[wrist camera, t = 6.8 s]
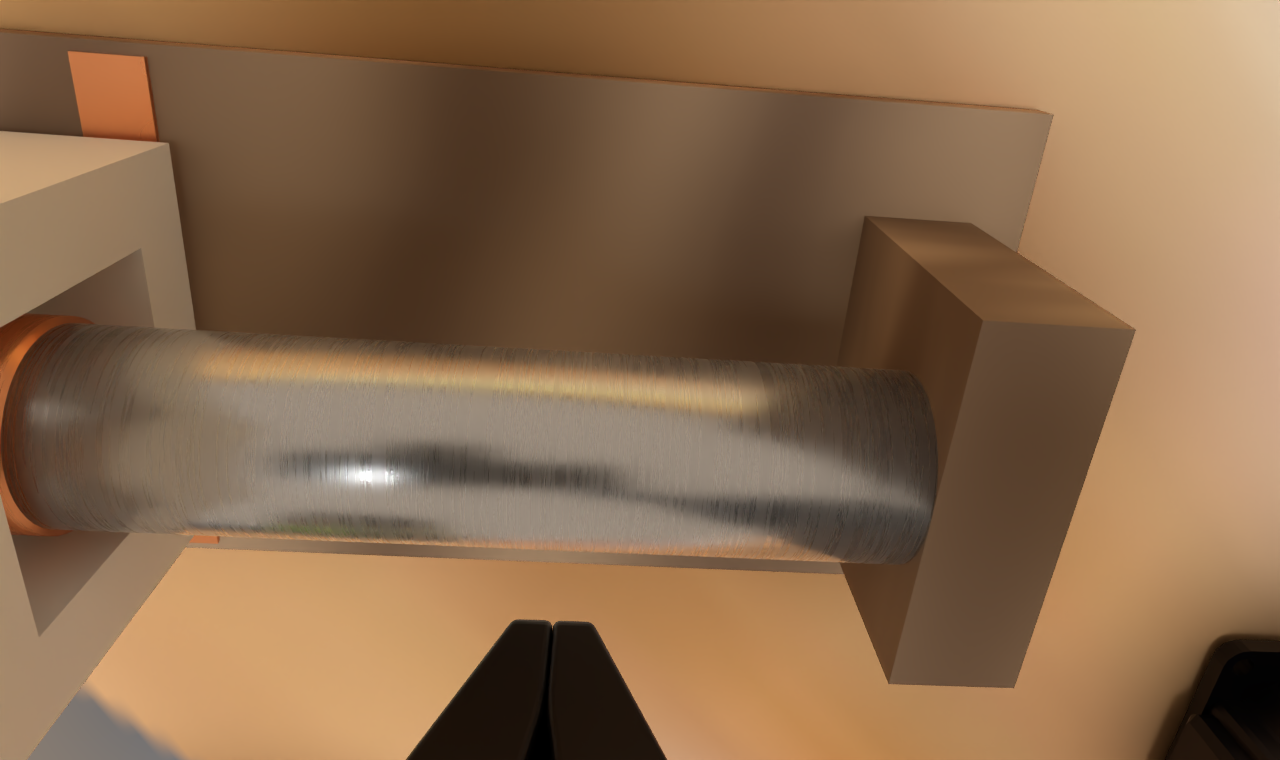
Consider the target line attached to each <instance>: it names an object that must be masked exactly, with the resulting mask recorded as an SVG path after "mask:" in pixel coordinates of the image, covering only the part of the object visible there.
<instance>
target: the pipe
mask: <svg viewBox="0 0 1280 760" xmlns="http://www.w3.org/2000/svg"><path fill="white" fill-rule="evenodd" d="M68 57H69V62H70V68H71V73H72V78H73V84H74V89H75V94H76V100H77V105H78V111H79V116H80V121H81V127H82V132H83V137H93V138H107V139H121V140H135V141H149V142H160V141H159V134H158V127H157V121H156V114H155V108H154V101H153V94H152V88H151V81H150V74H149V68H148V61H147V57H146V56H133V55H120V54H107V53H94V52H81V51H68ZM937 475H938V450H937V437H936V429H935V423H934V418H933V413H932V409H931V406H930V402H929V399H928V397H927V394H926V392H925V390H924V388H923V386H922V384H921V382H920V381H919V380H918V378H917V377H916V376H915V375H914V374H912V373H911V372H909V371H905V370H889V369H872V368H854V367H837V366H819V365H802V364H784V363H767V362H749V361H732V360H714V359H697V358H679V357H662V356H644V355H627V354H609V353H592V352H574V351H557V350H539V349H522V348H504V347H487V346H469V345H452V344H435V343H417V342H400V341H382V340H365V339H347V338H330V337H312V336H295V335H277V334H260V333H242V332H225V331H207V330H190V329H172V328H155V327H137V326H120V325H102V324H95V323H93V322H92V321H90V320H87V319H85V318H83V317H77V316H65V315H48V314H31V313H25V314H23V315H22V316H20V317H18V318H16V319H15V320H13V321H11V322H9V323H7V324H6V325H4V326H2V327H0V495H1V499H2V503H3V507H4V510H5V514H6V518H7V521H8V525H9V529H10V532H11V535H28V536H60V535H64V534H67V533H69V532H72V531H74V530H81V531H104V532H128V533H152V534H176V535H194V536H193V538H192V539H191V540H190V542H189V543H211V544H218V543H219V541H220V539H219V536H224V537H248V538H272V539H296V540H320V541H343V542H367V543H391V544H415V545H439V546H463V547H487V548H511V549H535V550H559V551H583V552H606V553H630V554H654V555H678V556H702V557H726V558H750V559H774V560H798V561H822V562H845V563H869V564H893V565H902V564H906V563H908V562H909V561H911V560H912V559H913V558H914V557H915V556H916V554H917V553H918V552H919V550H920V548H921V546H922V544H923V543H924V540H925V538H926V535H927V533H928V529H929V526H930V523H931V519H932V514H933V510H934V504H935V498H936V489H937Z"/></svg>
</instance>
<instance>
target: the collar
mask: <svg viewBox="0 0 1280 760" xmlns="http://www.w3.org/2000/svg"><path fill="white" fill-rule="evenodd" d="M25 313H31V314H48V315H65V316H77V317H83V318H85V319H87V320H90V321H92V322H93V323H95V324H102V325H120V326H137V327H155V328H172V329H190V330H196V326H195V319H194V312H193V305H192V298H191V291H190V285H189V278H188V271H187V264H186V257H185V250H184V244H183V237H182V230H181V223H180V216H179V209H178V203H177V196H176V189H175V182H174V175H173V168H172V162H171V155H170V148H169V143H163V142H149V141H135V140H121V139H107V138H93V137H79V136H64V135H50V134H36V133H22V132H8V131H0V327H2V326H4V325H6V324H7V323H9V322H11V321H13V320H15V319H16V318H18V317H20V316H22V315H23V314H25ZM193 536H194V535H176V534H152V533H128V532H104V531H81V530H74V531H72V532H69V533H67V534H64V535H60V536H28V535H11V532H10V529H9V525H8V521H7V518H6V514H5V510H4V507H3V503H2V499H1V495H0V760H27V759H28V757H29V756H30V755H31V753H32V752H33V751H34V749H35V748H36V747H37V745H38V744H39V743H40V741H41V740H42V739H43V737H44V736H45V735H46V733H47V732H48V730H49V729H50V728H51V727H52V725H53V724H54V723H55V721H56V720H57V718H58V717H59V716H60V715H61V713H62V712H63V711H64V709H65V708H66V706H67V705H68V704H69V702H70V701H71V700H72V698H73V697H74V696H75V694H76V693H77V692H78V690H79V689H80V688H81V686H82V685H83V684H84V682H85V681H86V680H87V678H88V677H89V676H90V674H91V673H92V672H93V670H94V669H95V668H96V666H97V665H98V664H99V662H100V661H101V660H102V658H103V657H104V656H105V654H106V653H107V652H108V650H109V649H110V648H111V646H112V645H113V644H114V642H115V641H116V640H117V638H118V637H119V636H120V634H121V633H122V632H123V630H124V629H125V627H126V626H127V625H128V623H129V622H130V621H131V619H132V618H133V617H134V615H135V614H136V613H137V611H138V610H139V609H140V607H141V606H142V605H143V603H144V602H145V601H146V599H147V598H148V597H149V595H150V594H151V593H152V591H153V590H154V589H155V587H156V586H157V585H158V583H159V582H160V581H161V579H162V578H163V577H164V575H165V574H166V573H167V571H168V570H169V569H170V567H171V566H172V565H173V563H174V562H175V561H176V559H177V558H178V556H179V555H180V554H181V552H182V551H183V550H184V548H185V547H186V546H187V544H188V543H189V542H190V540H191V539H192V538H193Z"/></svg>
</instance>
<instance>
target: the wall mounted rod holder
mask: <svg viewBox="0 0 1280 760" xmlns="http://www.w3.org/2000/svg"><path fill="white" fill-rule="evenodd" d="M68 51H81V52H94V53H107V54H120V55H133V56H146V57H147V61H148V68H149V74H150V81H151V88H152V94H153V101H154V108H155V114H156V121H157V127H158V134H159V141H160V142H163V143H169V148H170V155H171V162H172V168H173V175H174V182H175V189H176V196H177V203H178V209H179V216H180V223H181V230H182V237H183V244H184V250H185V257H186V264H187V271H188V278H189V285H190V291H191V298H192V305H193V312H194V319H195V326H196V330H207V331H225V332H242V333H260V334H277V335H295V336H312V337H330V338H347V339H365V340H382V341H400V342H417V343H435V344H452V345H469V346H487V347H504V348H522V349H539V350H557V351H574V352H592V353H609V354H627V355H644V356H662V357H679V358H697V359H714V360H732V361H749V362H767V363H784V364H802V365H819V366H837V367H854V368H872V369H889V370H905V371H909V372H911V373H912V374H914V375H915V376H916V377H917V378H918V380H919V381H920V382H921V384H922V386H923V388H924V390H925V392H926V394H927V397H928V399H929V402H930V406H931V409H932V413H933V418H934V423H935V429H936V437H937V450H938V475H937V489H936V498H935V504H934V510H933V514H932V519H931V523H930V526H929V529H928V533H927V535H926V538H925V540H924V543H923V544H922V546H921V548H920V550H919V552H918V553H917V554H916V556H915V557H914V558H913V559H912V560H911V561H909V562H908V563H906V564H902V565H893V564H869V563H845V562H822V561H798V560H774V559H750V558H726V557H702V556H678V555H654V554H630V553H606V552H583V551H559V550H535V549H511V548H487V547H463V546H439V545H415V544H391V543H367V542H343V541H320V540H296V539H272V538H248V537H224V536H219V539H220V541H219V543H218V544H211V543H188V544H187V546H186V547H189V548H214V549H238V550H262V551H287V552H311V553H336V554H360V555H385V556H409V557H434V558H458V559H482V560H507V561H531V562H556V563H580V564H605V565H629V566H654V567H678V568H703V569H727V570H751V571H776V572H800V573H825V574H844V575H845V578H846V580H847V582H848V585H849V587H850V590H851V592H852V595H853V597H854V600H855V602H856V605H857V607H858V610H859V612H860V614H861V617H862V619H863V622H864V624H865V627H866V629H867V632H868V634H869V637H870V639H871V642H872V644H873V646H874V649H875V651H876V654H877V656H878V659H879V661H880V664H881V666H882V669H883V671H884V674H885V676H886V678H887V681H888V683H889V684H905V685H936V686H967V687H998V688H1014V687H1015V684H1016V681H1017V678H1018V675H1019V672H1020V669H1021V666H1022V663H1023V660H1024V657H1025V654H1026V651H1027V648H1028V645H1029V643H1030V640H1031V637H1032V634H1033V631H1034V628H1035V625H1036V622H1037V619H1038V616H1039V613H1040V610H1041V607H1042V604H1043V601H1044V598H1045V595H1046V592H1047V590H1048V587H1049V584H1050V581H1051V578H1052V575H1053V572H1054V569H1055V566H1056V563H1057V560H1058V557H1059V554H1060V551H1061V548H1062V545H1063V542H1064V540H1065V537H1066V534H1067V531H1068V528H1069V525H1070V522H1071V519H1072V516H1073V513H1074V510H1075V507H1076V504H1077V501H1078V498H1079V495H1080V492H1081V489H1082V487H1083V484H1084V481H1085V478H1086V475H1087V472H1088V469H1089V466H1090V463H1091V460H1092V457H1093V454H1094V451H1095V448H1096V445H1097V442H1098V439H1099V437H1100V434H1101V431H1102V428H1103V425H1104V422H1105V419H1106V416H1107V413H1108V410H1109V407H1110V404H1111V401H1112V398H1113V395H1114V392H1115V389H1116V386H1117V384H1118V381H1119V378H1120V375H1121V372H1122V369H1123V366H1124V363H1125V360H1126V357H1127V354H1128V351H1129V348H1130V345H1131V342H1132V339H1133V336H1134V333H1135V331H1136V330H1135V329H1134V328H1132V327H1131V326H1129V325H1128V324H1126V323H1125V322H1123V321H1121V320H1120V319H1118V318H1117V317H1115V316H1114V315H1112V314H1111V313H1109V312H1108V311H1106V310H1104V309H1103V308H1101V307H1100V306H1098V305H1097V304H1095V303H1094V302H1092V301H1091V300H1089V299H1088V298H1086V297H1084V296H1083V295H1081V294H1080V293H1078V292H1077V291H1075V290H1074V289H1072V288H1071V287H1069V286H1067V285H1066V284H1064V283H1063V282H1061V281H1060V280H1058V279H1057V278H1055V277H1054V276H1052V275H1051V274H1049V273H1047V272H1046V271H1044V270H1043V269H1041V268H1040V267H1038V266H1037V265H1035V264H1034V263H1032V262H1031V261H1029V260H1027V259H1026V258H1024V257H1023V256H1021V255H1020V254H1018V253H1017V250H1018V246H1019V242H1020V238H1021V235H1022V231H1023V227H1024V223H1025V220H1026V216H1027V212H1028V209H1029V205H1030V201H1031V197H1032V194H1033V190H1034V186H1035V182H1036V179H1037V175H1038V171H1039V167H1040V164H1041V160H1042V156H1043V152H1044V149H1045V145H1046V141H1047V137H1048V134H1049V130H1050V126H1051V123H1052V119H1053V114H1049V113H1046V112H1042V111H1039V110H1029V109H1016V108H1004V107H991V106H978V105H966V104H953V103H940V102H927V101H915V100H902V99H889V98H876V97H864V96H851V95H838V94H825V93H813V92H800V91H787V90H775V89H762V88H749V87H736V86H724V85H711V84H698V83H685V82H673V81H660V80H647V79H634V78H622V77H609V76H596V75H584V74H571V73H558V72H545V71H533V70H520V69H507V68H494V67H482V66H469V65H456V64H444V63H431V62H418V61H405V60H393V59H380V58H367V57H354V56H342V55H329V54H316V53H303V52H291V51H278V50H265V49H253V48H240V47H227V46H214V45H202V44H189V43H176V42H163V41H151V40H138V39H125V38H112V37H100V36H87V35H74V34H62V33H49V32H36V31H23V30H11V29H0V131H8V132H22V133H36V134H50V135H64V136H79V137H83V132H82V127H81V121H80V116H79V111H78V105H77V100H76V94H75V89H74V84H73V78H72V73H71V68H70V62H69V57H68Z"/></svg>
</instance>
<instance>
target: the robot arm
mask: <svg viewBox="0 0 1280 760" xmlns="http://www.w3.org/2000/svg"><path fill="white" fill-rule="evenodd" d="M406 760H667V758H666V757H665V755H664V753H663V751H662V749H661V747H660V746H659V744H658V742H657V740H656V738H655V736H654V735H653V733H652V731H651V729H650V727H649V725H648V724H647V722H646V720H645V718H644V716H643V714H642V712H641V711H640V709H639V707H638V705H637V703H636V701H635V700H634V698H633V696H632V694H631V692H630V690H629V689H628V687H627V685H626V683H625V681H624V679H623V678H622V676H621V674H620V672H619V670H618V668H617V667H616V665H615V663H614V661H613V659H612V657H611V655H610V654H609V652H608V650H607V648H606V646H605V644H604V643H603V641H602V639H601V637H600V635H599V633H598V632H597V630H596V628H595V627H594V625H593V624H591V623H589V622H576V621H558V622H556V623H555V624H554V626H553V630H552V625H551V623H550V622H549V621H546V620H520V619H519V620H514V621H513V622H511V623H510V625H509V626H508V627H507V628H506V630H505V631H504V632H503V633H502V635H501V636H500V637H499V639H498V640H497V641H496V643H495V644H494V645H493V647H492V648H491V649H490V650H489V652H488V653H487V654H486V656H485V657H484V658H483V660H482V661H481V662H480V664H479V665H478V666H477V667H476V669H475V670H474V671H473V673H472V674H471V675H470V677H469V678H468V679H467V681H466V682H465V683H464V684H463V686H462V687H461V688H460V690H459V691H458V692H457V694H456V695H455V696H454V697H453V699H452V700H451V701H450V703H449V704H448V705H447V707H446V708H445V709H444V711H443V712H442V713H441V714H440V716H439V717H438V718H437V720H436V721H435V722H434V724H433V725H432V726H431V728H430V729H429V730H428V731H427V733H426V734H425V735H424V737H423V738H422V739H421V741H420V742H419V743H418V745H417V746H416V747H415V748H414V750H413V751H412V752H411V754H410V755H409V756H408V758H407V759H406ZM1165 760H1280V641H1264V640H1232V641H1229V642H1227V643H1224V644H1223V645H1221V646H1220V647H1219V648H1218V649H1217V650H1216V651H1215V652H1214V654H1213V656H1212V658H1211V660H1210V662H1209V664H1208V667H1207V669H1206V671H1205V673H1204V675H1203V677H1202V680H1201V682H1200V684H1199V686H1198V688H1197V691H1196V693H1195V695H1194V697H1193V699H1192V702H1191V704H1190V706H1189V708H1188V710H1187V713H1186V715H1185V717H1184V719H1183V721H1182V723H1181V726H1180V728H1179V730H1178V732H1177V734H1176V737H1175V739H1174V741H1173V743H1172V745H1171V748H1170V750H1169V752H1168V754H1167V756H1166V759H1165Z"/></svg>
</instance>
